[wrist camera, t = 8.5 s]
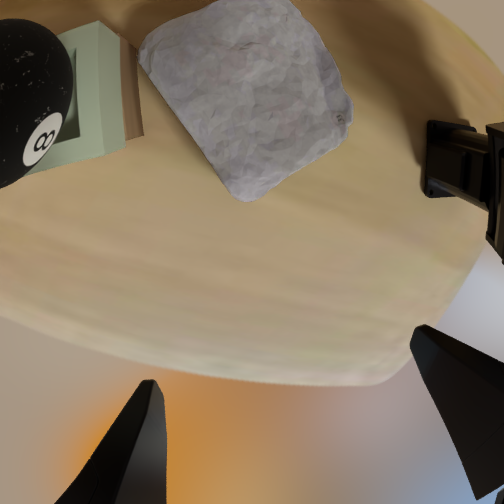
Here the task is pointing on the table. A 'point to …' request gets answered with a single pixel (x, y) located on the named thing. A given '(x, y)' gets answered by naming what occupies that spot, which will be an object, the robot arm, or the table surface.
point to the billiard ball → (30, 95)
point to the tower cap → (90, 99)
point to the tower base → (130, 91)
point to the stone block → (250, 89)
